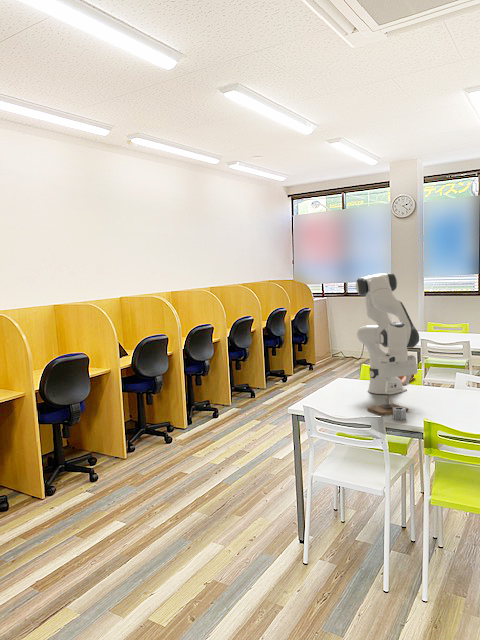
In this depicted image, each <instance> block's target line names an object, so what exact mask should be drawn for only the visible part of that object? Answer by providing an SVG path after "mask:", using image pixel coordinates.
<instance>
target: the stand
mask: <svg viewBox="0 0 480 640" xmlns="http://www.w3.org/2000/svg"><path fill="white" fill-rule="evenodd" d="M384 400H385V401H384V404H380V405H373V406H368V407H367V408H366V409H367V411H369V412H371V413H373V414H375V415H376V414H377V415H379V416H381V415H383V416H384V417H385V416H389V415H393V408H394V407H403V408H406V413H407V412H409V408H408V407H405V406H402V405H399V404H396V403H390V396H389V395H385V397H384ZM383 416H382V417H383Z"/></svg>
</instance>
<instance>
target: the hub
mask: <svg viewBox="0 0 480 640" xmlns="http://www.w3.org/2000/svg"><path fill="white" fill-rule="evenodd" d="M403 407H404V406H402V407H394V408H393V414H392V419H393V420H395V421H406V419H407V418H406V417H407V416H406V415H407V412H406V408H407V407H405V408H403Z"/></svg>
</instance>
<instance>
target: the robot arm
mask: <svg viewBox="0 0 480 640" xmlns="http://www.w3.org/2000/svg"><path fill="white" fill-rule="evenodd" d="M397 287H398V279H397V277H396V275H395V274H394V273H391V272H387V273H375V274H372V275H366V276H361V277H359V278H357V279H356V283H355V290H356V292H357V294H358V295H359V296H361V297H363V296H364V297H365V307H366V315H367V317H368V319H370V320H371V321H373V322H374V323H376V324H377V325H376V324H370V325H369V324H367V325H363V326H360V327H358V329H357V333H356V337H357V340H358V341H359V342H360V343H361V344H362V345H364V347H365V349H366V350H367V352H368V357H369V368H368V369H369V383H368V389H367V392H369V393H370V394H379V395H394V394H398V393H402V392H406V390H408V388H407V387H404V385H402V381H401V379H399V378H398V376H406V380H404V384H406V385H409V384H410V382H409V380H410V378H411V375H417V374H418V365H417V358H416V356H414V354H413V355H412V354H411V355H408V354H409V353H408V348H409V349H410V348H411V349H412V348H414V347H416V346H417V345H418V343H419V342H420V334H419V331H418V329H417V328H416V327H415V326H414V324H413V321H412V320H411V317H410V316H409V313H408V312H407V309H406V307H405V305H404V304H403V302H402V301H401V300H399V299H397V297H396V296H395V295H394V293H393V292H395V290H396V289H397ZM389 314H391V315H393V316H395V317H397V318H398V320H399V321H398V322H396V321H394V322H393V321H392V320H391V318H390V316H389ZM380 345H381V346H382V347H384V348H388V349H387V351H386V350H384V349H383V348H382V347H381V346H380ZM406 385H405V386H406Z"/></svg>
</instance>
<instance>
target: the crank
mask: <svg viewBox="0 0 480 640" xmlns="http://www.w3.org/2000/svg"><path fill="white" fill-rule="evenodd" d="M414 375H415V374H414ZM414 375H411V378H410V380H409V383H410V382H411V381H412V379H413V377H414ZM398 378H399V379H401V381H402V385H403V386H406V385H405V384H404V380H406V376H398Z"/></svg>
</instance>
